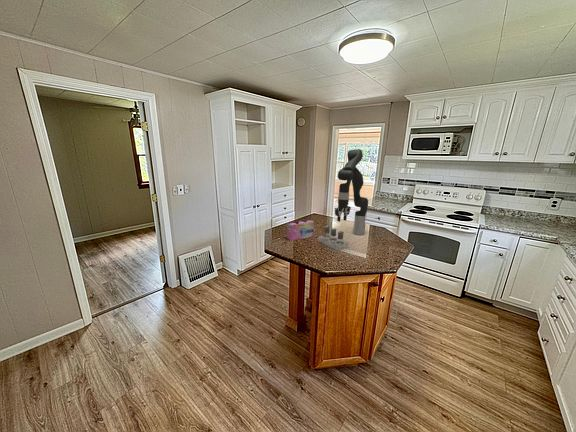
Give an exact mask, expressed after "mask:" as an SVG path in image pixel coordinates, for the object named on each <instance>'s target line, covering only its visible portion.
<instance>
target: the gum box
mask: <svg viewBox="0 0 576 432" xmlns="http://www.w3.org/2000/svg"><path fill="white" fill-rule="evenodd" d="M286 225H287V226H286V238H287V239H288V240H289V241H296V240H302V239H309V237H310V238H314V237H315V221H313V220H312V219H306V220H305V219H304V220H299V221H289V222H286Z"/></svg>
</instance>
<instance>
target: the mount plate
mask: <svg viewBox="0 0 576 432" xmlns="http://www.w3.org/2000/svg"><path fill="white" fill-rule="evenodd" d="M317 241H318V242H319V243H321V244H323V245H325V246H327V247H329V248H331V249H333V250H335V251H339V250H344V249H348V248H349V245H350V244H349V241H347V240H344V239H338V236H331V233H327V234H323V235H318V240H317Z"/></svg>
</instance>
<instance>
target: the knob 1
mask: <svg viewBox="0 0 576 432" xmlns="http://www.w3.org/2000/svg"><path fill="white" fill-rule="evenodd" d="M330 227H331V226H330V225H324V233H325V234H330V231H331V229H330Z"/></svg>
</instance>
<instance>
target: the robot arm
mask: <svg viewBox="0 0 576 432" xmlns="http://www.w3.org/2000/svg"><path fill="white" fill-rule="evenodd" d="M363 156H364V154H363V151H362V149H360V148H357V149H351V150H348V151H347V162H346V163H345V165H344V166H343V167H342V168H341V169H339V171H338V172H337V179H338V180H340V181H345V182H344V183H340V184H339V187H338V188H339V189H338V197H337V198H338V199H337V207H334V216H337V218H336V219H337V220H336V221H337V222H341V218H342V217H341V216H342V214H343V219H342V220H343V221H347V216H348V215H350V213H351V209H352V208H351V206H349V203H350V187H351V186H350V185H352V191H353V204H354V206H355V207H357V208H360V210H356V211H355V212H354V221H353V234H354V235H355V236H356V235H357V236H362V235H366V234H365V231H366V226H367V225H366V217H367V212H368V206H369V199H368V198H367V197H362V196H361V189H362V188H363V186H364V176H363V174H362V172H361V171H360V170H359V168H358V167H357V165H359V164H360V163H361V161H362V160H363V158H364V157H363Z"/></svg>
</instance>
